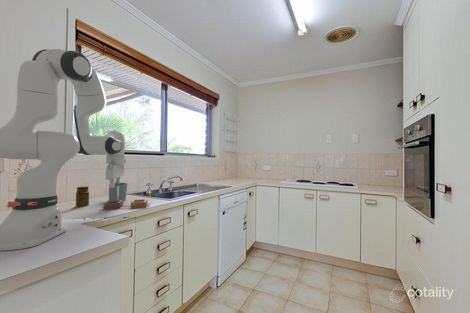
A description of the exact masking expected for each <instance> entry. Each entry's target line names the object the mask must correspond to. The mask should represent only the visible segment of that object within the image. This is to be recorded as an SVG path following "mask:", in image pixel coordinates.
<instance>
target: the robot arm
mask: <svg viewBox="0 0 470 313" xmlns="http://www.w3.org/2000/svg"><path fill="white" fill-rule="evenodd" d="M61 80H63V81H70V83H71V84H72V86H73V89H74V92H75V96H76V105H74V107H73V117H74V124H75V130H76V135H74V134H71V133H66V132H62V131H50V130H38V129H36V126H37V125H38V124H42V123H45V122H48V121H51V120H53V119H55V118H56V117H57V115H58V106H59V105H58V103H59V102H58V96H59V94H58V85H59V82H60V81H61ZM16 82H17V85H16V86H17V87H16V89H17V90H16V107H15V112H14V114H13V116H12V118H11V119H10V120H9V121H8V122H7V123H6V124H5V125H3V126H2V127H0V158H1V159H7V160H8V159H9V160H38V161H40V163H39V165H37V166H35V167H33V168H30V169H27V170H25V171H23V172H21V173H20V174H19V175H18V176H17V179H16V197H15V198H14V199H13V201H8V202H7V203H6V207H7V208H8V209H9V208H11V209H12V210H11V211H10V213H8V215H7V216H6V217H5V218H4V220H2V222H0V251H2V252H3V251H13V250H14V251H15V250H22V249H27V248H33V247H37V246H38V245H40V244H43V243H45V242H47V241H48V240H51V239H53V238H54V237H57V236H59V235H61V234H63V233H66V231H67V230H66V228H65V227H63V222H62V221H63V219H62V211H61V209H60V208H59V207H58V205H57V204H58V194H57V183H58V182H57V181H58V175H59V174H60V170H61V169H62V168H63V166H64V165H65V164H66V163H67V162H69V161H70V160H71V159H74V158H75V157H76V156H77V155H78V154H79V152H80V153H82V155H84V156H106V158H105V159H106V160H105V161H106V162H105V164H107V165H106V170H105V180H108V182H109V184H110V187H114V186H115V184H116V185H118V184H119V183H121V182H120V181H121V176H124V172H125V164H126V162H127V161H126V158H125V157H126V154H125V150H126V149H125V148H126V140H125V138H126V137H125V134H124V133H123V132H122V131H119V130H109V131H108V133H107V134H105V135H93V134H92V133H91V128H90V120H89V119H90V117H91V116H93V115H95V114H98V113H99V112H102V111H103V110H104V108H106V105H107V99H106V98H107V97H106V95H105V91H104V87H103V84H102V82H101V79H100V77H99V74H98V73H97V71H96V70H95V69H93V67H92V65H91V62H90V61H89V59H88V58H87V56H85V55H84V54H83V53H81V52H78V51H75V50H65V49H61V48H53V49H49V48H48V49H41V50H39V51H37V52H36V53H35V54H34V55H33V56H32V60H31V59H30V60H25V61H23V62H22V63H21V64H20V66H19V71H18V75H17V81H16ZM76 136H77V137H76ZM114 183H115V184H114Z"/></svg>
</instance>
